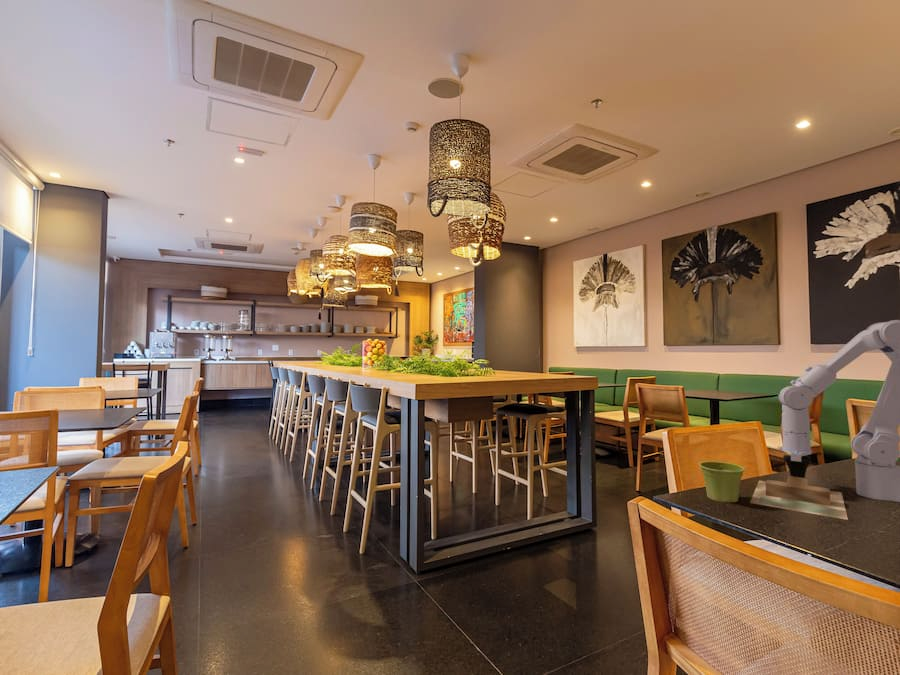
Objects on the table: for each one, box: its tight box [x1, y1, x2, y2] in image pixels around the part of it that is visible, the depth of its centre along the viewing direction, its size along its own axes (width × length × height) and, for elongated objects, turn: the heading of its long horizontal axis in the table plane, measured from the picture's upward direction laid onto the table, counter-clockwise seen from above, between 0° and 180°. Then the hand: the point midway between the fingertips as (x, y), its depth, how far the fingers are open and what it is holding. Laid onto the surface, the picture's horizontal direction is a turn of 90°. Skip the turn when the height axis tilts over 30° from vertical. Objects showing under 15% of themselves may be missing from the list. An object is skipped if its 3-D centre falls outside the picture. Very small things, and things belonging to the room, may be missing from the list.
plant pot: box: [698, 461, 746, 503], centre depth 106 cm, size 9×9×9 cm
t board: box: [749, 480, 849, 521], centre depth 106 cm, size 17×24×1 cm
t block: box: [766, 475, 831, 506], centre depth 108 cm, size 12×12×3 cm
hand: (798, 484), depth 114 cm, fingers closed
